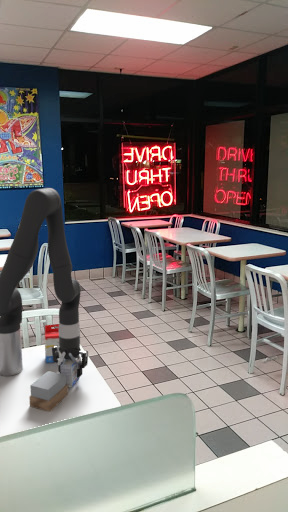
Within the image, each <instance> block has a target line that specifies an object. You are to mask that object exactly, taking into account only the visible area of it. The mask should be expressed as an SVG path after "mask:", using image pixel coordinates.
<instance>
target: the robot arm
mask: <svg viewBox="0 0 288 512" xmlns="http://www.w3.org/2000/svg"><path fill="white" fill-rule="evenodd" d="M19 221H20V222H19V225H18V227H17V229H16V233H15V236H14V238H13V241H12V243H11V245H10V247H9V250H8V253H7V256H6V259H5V262H4V264H3V266H2V269H1V271H0V375H1V376H5V377H7V376H8V377H9V376H10V377H11V376H15V375H17V374H19V373H21V372H22V371H23V369H24V368H23V367H24V366H23V349H22V333H21V332H22V331H21V324H22V321H23V300H22V294H21V293H20V291H19V290H18V289H17V286H18V285H19V284H20V283H21V281H22V280H23V279H24V278H25V277H26V275H27V274H28V273H29V272H30V271H31V268H32V267H33V265H34V263H35V260H36V258H37V255H38V252H39V234H40V230H41V228H42V225H43V223H44V221H46V225H47V226H46V227H47V255H48V259H49V260H48V261H49V263H50V267H51V270H52V277H53V289H54V293H55V296H56V298H57V299H58V301H60V302H61V305H60V307H59V309H58V324H59V346H60V347H58V345H55V346H54V347H53V348H52V355H53V362H52V363H56V364H57V367H58V369H57V370H58V373H59V374H61V368H60V365H61V364H62V363H63V362H64V360H65V359H66V360H68V359H69V360H71V361H73V363H74V364H75V365H76V367H77V378H78V379H80V377H82V376H83V369H85V368H86V366H88V364H89V363H88V362H89V361H88V358H89V350H82V349H81V327H80V314H79V313H80V310H79V309H80V308H79V307H80V300H81V285H80V282H79V281H78V280H77V279H75V278H73V277H72V271H73V264H72V260H71V256H70V251H69V248H68V244H67V238H66V233H65V225H64V223H65V222H64V216H63V205H62V199H61V196H60V194H59V192H58V191H57V190H56V189H54V188H52V187H44V188H37V189H34V190H31V191H30V193H29V194H28V195H27V196H26V200H25V203H24V205H23V210H22V214H21V218H20V220H19ZM59 351H60V353H61V354H62V355H61V357H60V359H59ZM76 358H77V360H76Z"/></svg>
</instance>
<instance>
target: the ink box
mask: <svg viewBox="0 0 288 512" xmlns="http://www.w3.org/2000/svg"><path fill="white" fill-rule="evenodd" d="M55 345H58V347H60V346H59V323H54V324H45V325H44V351H45V352H44V353H45V363H46V364H47V363H49V364H50V363H54V362H53V355H52V348H53V347H54V346H55ZM61 355H62V354H61V353H60V351H59V359H60V357H61ZM64 361H65V360H64Z"/></svg>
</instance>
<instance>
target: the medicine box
mask: <svg viewBox="0 0 288 512" xmlns="http://www.w3.org/2000/svg"><path fill="white" fill-rule="evenodd" d="M76 360H77V358H76ZM60 368H61V374H63V375H65V384H67V385H68V388H73V387H74V386H75V384H76V383H77V381H78V380H79V378H77V367H76V365H75V364H74V363H73V361H71V360H69V359H68V360H66V359H65V361H64V362H63V363H62V364H61V365H60Z"/></svg>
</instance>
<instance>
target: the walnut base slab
mask: <svg viewBox="0 0 288 512" xmlns="http://www.w3.org/2000/svg"><path fill="white" fill-rule="evenodd" d="M68 388H69V387H68V385H67V384H65V386H64V387H63V388H62V389H61V390H60V391H59V392H58V393H57V394H56V395H55V396H53V397H52V398H51V399H50V400H49V401H47V400H44V399H40V398H36V397H32V396H31V395H29V398H28V399H29V407H32V408H35V409H39V410H43V411H46V412H52V411H53V410H54V409H55V408H56V407H57V406H58V405H59V404H60V403H61V402H62V401H63V400H64V399H65V398H66V396H68V394H69V389H68Z"/></svg>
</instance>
